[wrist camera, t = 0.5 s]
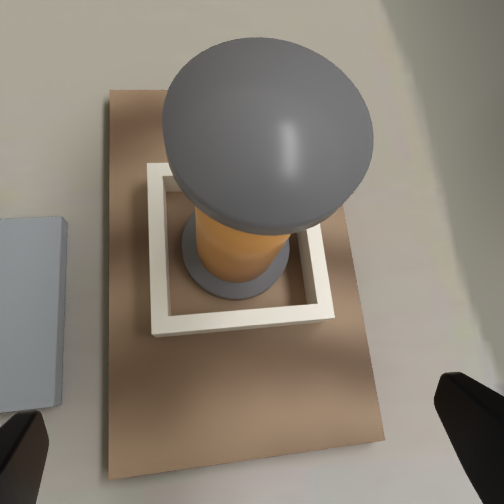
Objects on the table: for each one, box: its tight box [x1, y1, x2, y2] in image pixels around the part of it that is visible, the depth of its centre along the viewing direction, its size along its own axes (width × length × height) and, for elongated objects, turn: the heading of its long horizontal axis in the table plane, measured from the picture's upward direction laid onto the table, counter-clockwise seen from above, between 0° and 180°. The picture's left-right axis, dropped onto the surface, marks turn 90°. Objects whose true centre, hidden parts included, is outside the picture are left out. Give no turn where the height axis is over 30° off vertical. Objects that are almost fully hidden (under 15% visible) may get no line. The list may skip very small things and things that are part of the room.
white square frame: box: [147, 163, 335, 338], centre depth 21 cm, size 9×9×2 cm
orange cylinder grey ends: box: [162, 37, 373, 301], centre depth 16 cm, size 6×6×12 cm
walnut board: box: [108, 90, 385, 480], centre depth 23 cm, size 22×14×1 cm, turn 6°
